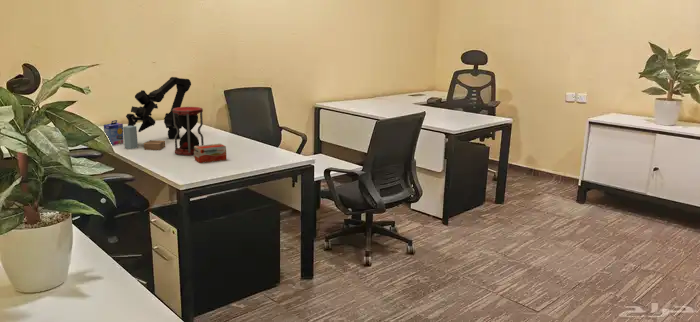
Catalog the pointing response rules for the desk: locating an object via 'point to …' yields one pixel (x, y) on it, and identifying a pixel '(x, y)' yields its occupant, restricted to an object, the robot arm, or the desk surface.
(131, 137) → the slate post
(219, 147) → the medicine box
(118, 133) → the ink cartridge box
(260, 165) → the desk surface
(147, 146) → the walnut block
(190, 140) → the hourglass
